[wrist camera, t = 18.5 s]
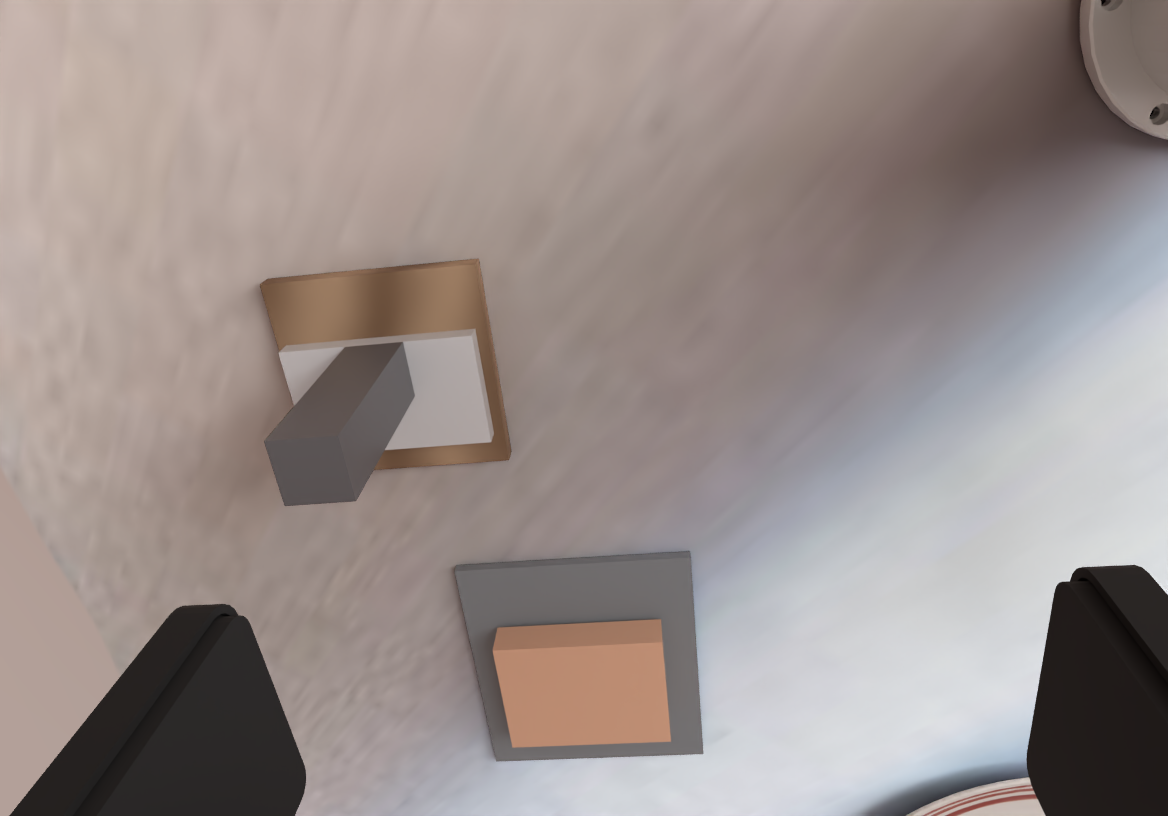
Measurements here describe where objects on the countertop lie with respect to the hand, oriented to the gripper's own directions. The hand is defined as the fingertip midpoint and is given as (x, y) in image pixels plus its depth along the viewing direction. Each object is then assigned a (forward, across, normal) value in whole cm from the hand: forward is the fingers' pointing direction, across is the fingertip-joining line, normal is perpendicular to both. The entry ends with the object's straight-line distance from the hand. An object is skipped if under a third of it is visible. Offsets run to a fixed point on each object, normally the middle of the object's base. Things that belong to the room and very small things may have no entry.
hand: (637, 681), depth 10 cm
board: (+32, +14, +9) cm, 36 cm away
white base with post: (+31, +14, +9) cm, 35 cm away
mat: (+32, +7, +30) cm, 44 cm away
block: (+30, +6, +26) cm, 40 cm away
